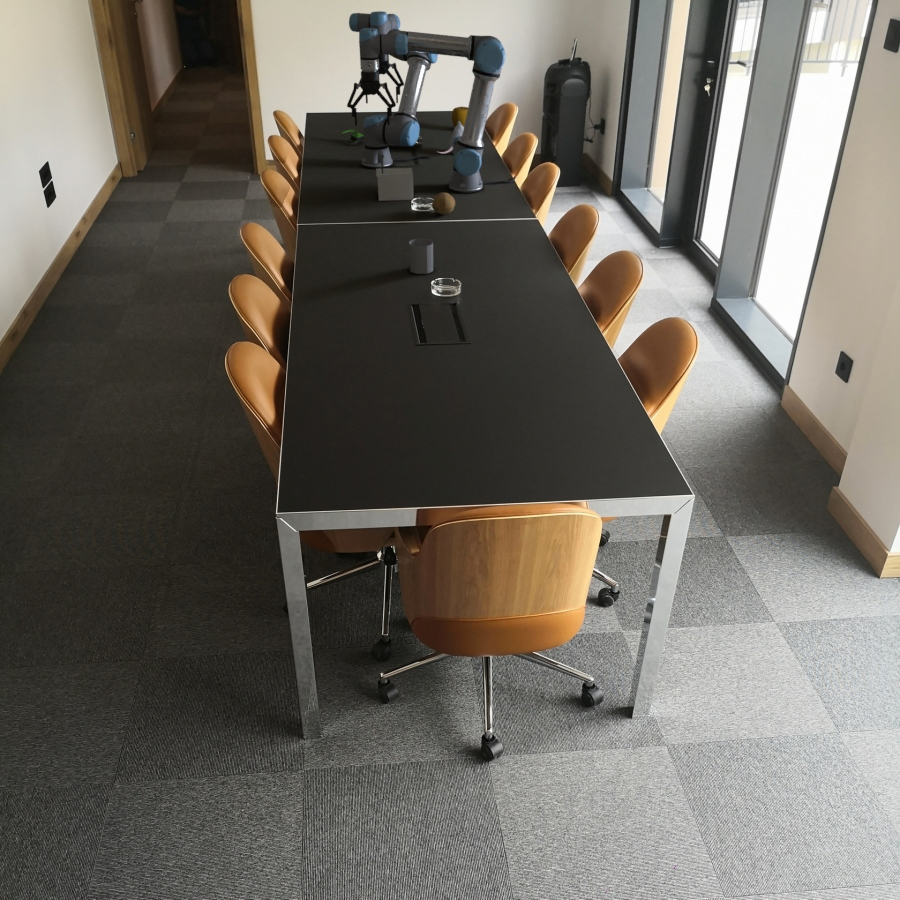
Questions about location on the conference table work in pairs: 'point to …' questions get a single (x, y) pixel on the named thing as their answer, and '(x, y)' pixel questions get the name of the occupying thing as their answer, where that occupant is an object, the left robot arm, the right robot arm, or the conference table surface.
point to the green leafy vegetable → (354, 137)
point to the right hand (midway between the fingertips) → (372, 124)
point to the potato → (443, 203)
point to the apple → (459, 115)
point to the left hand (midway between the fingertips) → (382, 102)
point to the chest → (395, 188)
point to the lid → (392, 170)
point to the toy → (457, 132)
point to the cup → (421, 256)
